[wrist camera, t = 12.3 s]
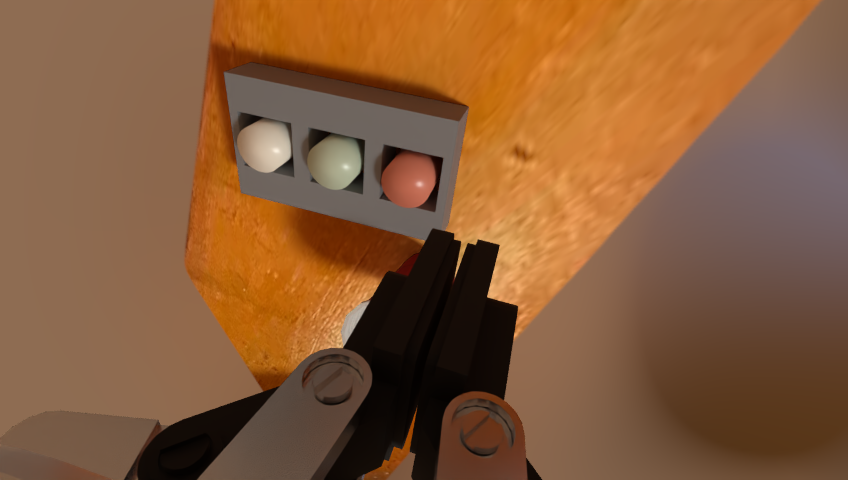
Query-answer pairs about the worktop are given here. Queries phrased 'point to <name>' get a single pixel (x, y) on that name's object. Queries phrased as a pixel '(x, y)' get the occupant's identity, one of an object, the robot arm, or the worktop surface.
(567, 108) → the worktop surface
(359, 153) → the sage button
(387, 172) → the brick button
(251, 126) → the ivory button
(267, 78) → the panel
